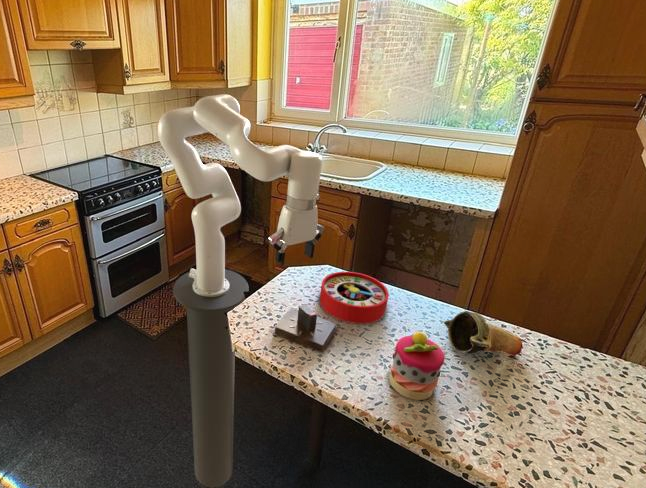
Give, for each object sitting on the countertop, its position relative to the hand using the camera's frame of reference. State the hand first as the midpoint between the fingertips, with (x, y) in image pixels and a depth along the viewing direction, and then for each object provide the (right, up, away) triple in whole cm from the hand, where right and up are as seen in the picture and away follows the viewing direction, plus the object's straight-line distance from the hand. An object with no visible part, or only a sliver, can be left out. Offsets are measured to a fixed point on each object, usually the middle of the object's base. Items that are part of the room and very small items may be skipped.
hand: (294, 259), depth 109 cm
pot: (+48, -24, -2) cm, 54 cm away
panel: (+4, -21, +5) cm, 22 cm away
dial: (+4, -19, +4) cm, 20 cm away
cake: (+26, -30, -12) cm, 42 cm away
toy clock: (+21, -15, +17) cm, 31 cm away
